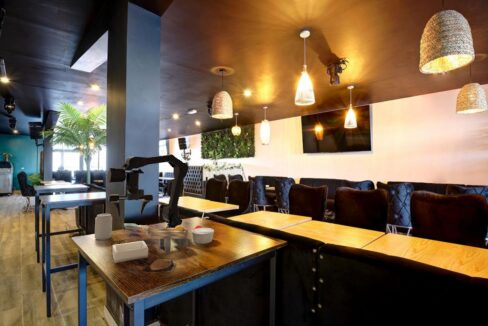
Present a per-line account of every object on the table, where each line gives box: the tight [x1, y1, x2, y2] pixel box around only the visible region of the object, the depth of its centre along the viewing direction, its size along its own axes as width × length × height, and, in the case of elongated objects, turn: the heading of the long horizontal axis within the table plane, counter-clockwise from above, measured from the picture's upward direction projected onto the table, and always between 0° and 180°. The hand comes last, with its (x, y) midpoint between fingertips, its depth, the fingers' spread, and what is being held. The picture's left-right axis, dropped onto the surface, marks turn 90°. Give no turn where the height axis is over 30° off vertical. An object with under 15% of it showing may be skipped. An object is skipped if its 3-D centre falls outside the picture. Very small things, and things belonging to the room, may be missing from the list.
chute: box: [123, 222, 189, 247], centre depth 111 cm, size 24×24×6 cm
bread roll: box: [142, 258, 177, 274], centre depth 88 cm, size 11×9×4 cm
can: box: [94, 213, 113, 241], centre depth 122 cm, size 8×8×12 cm
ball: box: [174, 225, 184, 231], centre depth 110 cm, size 4×4×4 cm
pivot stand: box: [158, 236, 172, 255], centre depth 107 cm, size 2×11×7 cm, turn 33°
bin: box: [112, 240, 149, 264], centre depth 99 cm, size 12×10×4 cm
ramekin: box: [191, 227, 215, 245], centre depth 121 cm, size 11×11×5 cm
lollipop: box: [192, 211, 210, 230], centre depth 136 cm, size 6×10×12 cm, turn 110°
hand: (130, 215), depth 114 cm, fingers open, 9 cm apart
